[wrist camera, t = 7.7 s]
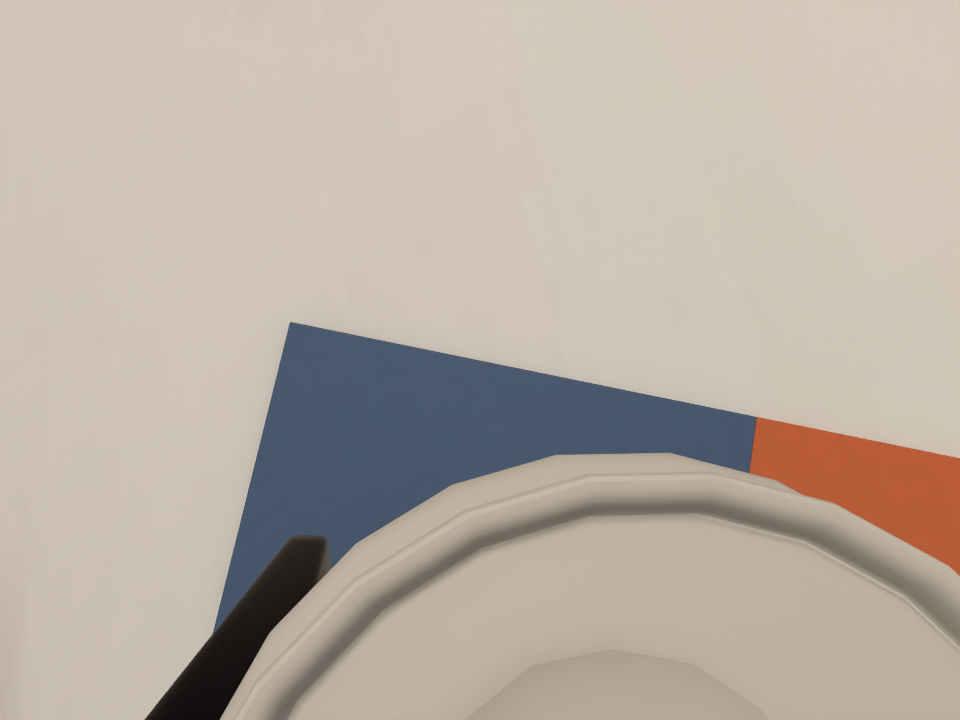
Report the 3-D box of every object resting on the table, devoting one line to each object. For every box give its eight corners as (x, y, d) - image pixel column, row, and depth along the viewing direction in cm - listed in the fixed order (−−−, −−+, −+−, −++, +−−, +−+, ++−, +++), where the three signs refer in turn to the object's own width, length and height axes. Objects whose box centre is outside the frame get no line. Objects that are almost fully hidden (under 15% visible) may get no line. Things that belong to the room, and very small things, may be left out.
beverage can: (427, 779, 14) (358, 2140, 2) (334, 540, 15) (-74, 714, 3) (653, 669, 15) (1474, 1349, 3) (552, 444, 16) (901, 285, 4)
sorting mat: (1206, 510, 19) (1214, 510, 19) (1194, 942, 17) (1202, 948, 17) (291, 323, 19) (290, 321, 18) (186, 747, 17) (183, 750, 17)
